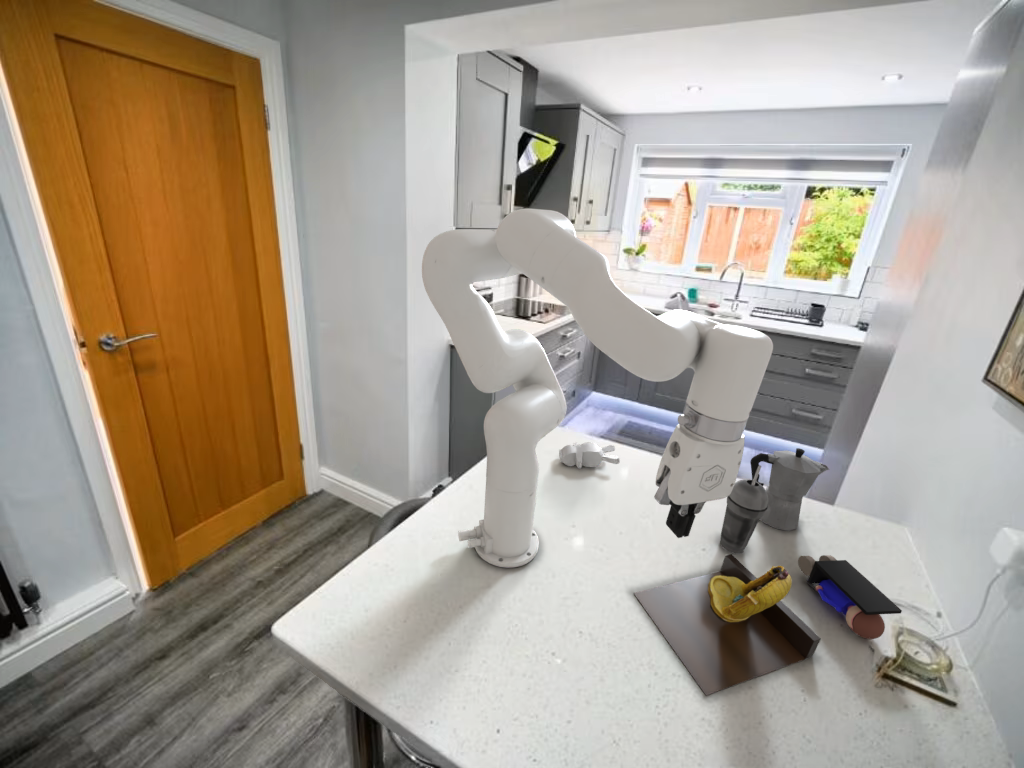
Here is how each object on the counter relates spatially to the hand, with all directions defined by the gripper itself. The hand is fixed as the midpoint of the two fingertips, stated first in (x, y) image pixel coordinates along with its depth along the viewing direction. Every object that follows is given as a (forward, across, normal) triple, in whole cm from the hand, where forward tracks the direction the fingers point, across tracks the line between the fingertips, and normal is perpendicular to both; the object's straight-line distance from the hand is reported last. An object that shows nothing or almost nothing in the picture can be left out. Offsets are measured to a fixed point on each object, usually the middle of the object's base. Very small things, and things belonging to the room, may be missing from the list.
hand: (676, 530), depth 64 cm
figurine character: (+18, +35, -6) cm, 40 cm away
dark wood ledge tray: (+19, +11, -4) cm, 22 cm away
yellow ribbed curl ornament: (+19, +15, -4) cm, 24 cm away
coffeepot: (+19, +44, +16) cm, 51 cm away
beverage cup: (+19, +28, +10) cm, 35 cm away
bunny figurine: (+20, +13, +45) cm, 51 cm away
